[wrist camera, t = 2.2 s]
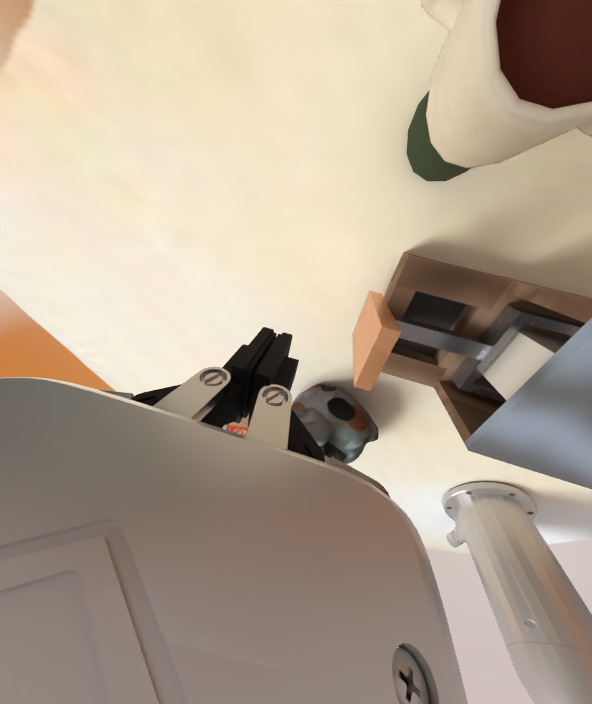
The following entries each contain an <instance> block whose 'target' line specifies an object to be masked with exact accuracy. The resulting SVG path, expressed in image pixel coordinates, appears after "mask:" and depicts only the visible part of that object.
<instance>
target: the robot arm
mask: <svg viewBox="0 0 592 704" xmlns="http://www.w3.org/2000/svg"><path fill="white" fill-rule="evenodd" d="M291 341H292V335H291V334H287V333H282V335H281V334H278V336H277V337H276V333H274V330H273V329H269V328H266V327H263V328H262V330H261V331H260V332H259V333H258V334H257V336H256V337H255V338H254V339H253V340H252V342H251V343H250V344H249V345H242V346H241V347H240V348H239V349H238V351H237V352H236V353H235V354H234V355H233V356H232V357H231V359H230V360H229V361H228V362H227V363H226V364H225V365H224V366H223V368H220V367H209V368H205V369H203V370H201V371H199V372H198V373H197V374H195V375H194V376H193V377H191V378H190V379H189V380H187V381H186V382H185V383H183V384H181V385H177V386H172V387H167V388H163V389H158V390H154V391H149V392H144V393H141V394H138V395H136V396H133V394H132V393H122V392H113V391H103V390H96V389H93V388H90V387H86V386H81V385H78V384H74V383H70V382H65V381H59V380H53V379H45V378H35V377H7V378H0V704H468V703H467V699H466V694H465V690H464V686H463V682H462V678H461V673H460V669H459V665H458V661H457V658H456V654H455V650H454V646H453V643H452V638H451V634H450V630H449V626H448V622H447V618H446V614H445V611H444V607H443V603H442V600H441V597H440V593H439V590H438V586H437V583H436V579H435V576H434V573H433V570H432V567H431V564H430V560H429V558H428V555H427V553H426V549H425V547H424V544H423V542H422V540H421V537H420V535H419V533H418V531H417V529H416V528H415V526H414V524H413V523H412V521H411V520H410V518H409V517H408V516H407V514H406V513H405V512H404V511H403V510H402V509H401V508H400V507H399V506H398V505H397V504H396V503H395V502H394V501H393V500H392V499H391V498H390V496H389V494H388V492H387V491H386V489H385V488H384V487H383V486H382V485H381V484H380V483H378V482H377V481H375V480H373V479H372V478H370V477H368V476H366V475H365V474H363V473H361V472H359V471H357V470H356V469H354V468H352V467H350V466H348V465H347V464H345V463H343V462H341V461H339V460H338V459H336V458H334V457H332V458H331V459H330V458H329V457H327V456H325V455H324V453H323V451H322V449H321V448H320V446H319V445H318V444H317V442H316V441H315V439H314V438H313V437H312V435H311V434H310V433H309V431H308V430H307V428H306V427H305V426H304V424H303V423H302V422H301V420H300V419H299V418H298V416H297V415H296V413H295V412H294V411H293V409H292V408H291V404H292V395H291V393H290V390H291V387H292V384H293V380H294V377H295V374H296V370H297V366H298V362H299V360H296V359H293V358H289V357H288V354H289V350H290V345H291ZM248 414H249V419H248V427H249V428H248V432H247V435H246V436H244V435H241V434H238V433H235V432H231V431H228V430H227V428H228V425H229V424H230V423H233V422H236V423H239V424H240V422H241V420H242V418H247V416H248ZM442 504H443V507H444V510H445V512H446V514H447V515H448V516H449V517H450V518H452V519H453V520H455V522H456V526H455V530H453V531H452V532H450V533H449V534H447V540H448V542H449V543H450V544H451V545H452V546H453V547H458V546H460V545H461V544H463V542H466V543H467V544H468V547H469V550H470V552H471V555H472V557H473V560H474V563H475V565H476V568H477V571H478V573H479V576H480V578H481V581H482V584H483V587H484V589H485V592H486V594H487V597H488V600H489V602H490V605H491V608H492V610H493V613H494V616H495V618H496V621H497V624H498V626H499V629H500V631H501V634H502V637H503V639H504V642H505V645H506V647H507V650H508V652H509V655H510V657H511V660H512V663H513V665H514V667H515V670H516V672H517V674H518V676H519V678H520V680H521V682H522V684H523V686H524V687H525V689H526V691H527V692H528V694H529V696H530V697H531V698H532V700H533V701H534V703H535V704H592V614H591V613H590V611H589V610H588V608H587V606H586V605H585V603H584V602H583V600H582V599H581V597H580V595H579V594H578V592H577V591H576V589H575V588H574V586H573V585H572V583H571V581H570V580H569V578H568V576H567V575H566V573H565V572H564V570H563V569H562V567H561V565H560V564H559V562H558V561H557V559H556V558H555V556H554V554H553V553H552V551H551V550H550V548H549V546H548V545H547V543H546V542H545V540H544V538H543V537H542V535H541V534H540V532H539V531H538V529H537V527H536V526H535V524H534V523H533V521H532V519H533V518H534V517H535V515H536V513H537V507H536V505H535V503H534V502H533V500H532V499H531V498H530V496H529V495H528V494H526V493H525V492H524V491H522V490H520V489H518V488H515V487H513V486H510V485H506V484H501V483H494V482H475V483H469V484H464V485H460V486H457V487H455V488H453V489H451V490H450V491H448V492H447V493H446V494H445V495H444V497H443V500H442ZM397 647H399V648H397Z"/></svg>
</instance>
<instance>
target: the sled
mask: <svg viewBox="0 0 592 704" xmlns="http://www.w3.org/2000/svg"><path fill="white" fill-rule="evenodd" d="M524 324H528V325H531V326H535V327H539V328H543V329H547V330H551V331H555V332H558V333H562V334H566V335H570V336H573V335H574V334H575V333H576V332H577V331H579V330H580V329H581V328H582V327H583V326H584V325H582V324H578V323H574V322H570V321H567V320H563V319H559V318H555V317H551V316H547V315H543V314H539V313H535V312H531V311H527V310H523V309H519V308H516V307H512V306H508V305H506V306H505V308H504V309H503V310H502V312H501V313H500V314H499V315H498V317H497V318H496V319H495V321H494V322H493V323H492V325H491V326H490V327H489V329H488V330H487V331H486V332H485V334H484V335H483V336H482V338H477V337H474V336H470V335H466V334H463V333H459V332H455V331H451V330H448V329H444V328H440V327H437V326H433V325H429V324H425V323H422V322H418V321H414V320H411V319H407V318H403V317H400V316H396V315H392V313H391V311H390V309H389V307H388V305H387V304H386V302H385V300H384V298H383V296H382V294H380V293H376V292H373V291H369V293H368V296H367V299H366V301H365V304H364V306H363V309H362V311H361V314H360V316H359V319H358V322H357V324H356V327H355V329H354V332H353V334H352V335H353V366H354V387H356V388H360V389H363V390H366V391H371V389H372V387H373V385H374V383H375V381H376V379H377V377H378V376H379V374H380V372H381V370H382V368H383V366H384V364H385V362H386V360H387V358H388V357H389V355H390V353H391V351H392V349H393V347H394V345H395V343H396V341H397V339H398V338H402V339H406V340H409V341H413V342H417V343H420V344H424V345H427V346H431V347H435V348H438V349H442V350H445V351H449V352H453V353H456V354H460V355H463V356H467V357H466V359H465V360H464V361H463V363H462V364H461V365H460V366H459V368H458V369H457V370H456V372H455V373H454V374H453V376H452V377H451V379H452V380H453V381H454V383H455V384H456V386H457V387H458V389H460V390H464V391H467V392H471V393H474V394H478V395H481V396H485V397H488V398H491V399H495V400H498V401H502V402H506V401H507V400H506V399H505V398H504V397H503V396H502V395H501V394H500V393H499V392H498V391H497V390H496V389H495V388H494V387H493V385H492V384H491V383H490V382H488V381H485V380H481V379H478V377H479V376H480V375H481V374H482V373H483V372H484V370H485V369H486V368H487V367H488V366H489V364H490V363H491V362H492V361H493V360H494V359H495V357H496V356H497V355H498V354H499V353H500V352H501V350H502V349H503V348H504V347H505V346H506V345H507V343H508V342H509V341H510V340H511V339H512V338H513V336H514V335H515V334H516V333H517V332H518V330H519V329H520V328H521V327H522V326H523V325H524Z"/></svg>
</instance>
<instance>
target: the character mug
mask: <svg viewBox="0 0 592 704" xmlns="http://www.w3.org/2000/svg"><path fill="white" fill-rule="evenodd" d="M421 6H422V8H423V9H424V10H425V12H426V13H427V14H428V15H429V16H430V17H432V18H433V19H434V20H436V21H437V22H438V23H440V24H441V25H442V26H444V27H445V28H446V29H447V30H449V33H448V36H447V38H446V41H445V43H444V45H443V48H442V50H441V53H440V55H439V57H438V60H437V62H436V64H435V67H434V69H433V72H432V78H431V85H430V90H429V92H428V93H427V94H426V95H425V97H424V98H423V99H422V101H421V102H420V103H419V104H418V107H417V109H416V112H415V114H414V117H413V119H412V122H411V124H410V127H409V130H408V142H407V156H408V158H409V161H410V164H411V166H412V169H413V172H415V173H416V174H418V175H419V176H420V177H422V178H423V179H425V180H426V181H447V180H449V179H451V178H453V177H455V176H457V175H460V174H462V173H464V172H466V171H467V170H469V169H470V168H471V167H476V166H482V165H489V164H495V163H500V162H502V161H504V160H507V159H509V158H511V157H513V156H515V155H518V154H520V153H522V152H524V151H526V150H528V149H531V148H533V147H535V146H537V145H539V144H542V143H544V142H546V141H548V140H550V139H553V138H555V137H557V136H559V135H561V134H563V133H566V132H568V131H570V130H572V129H574V128H578V129H579V130H580V131H582V132H583V133H584V134H586V135H589V136H591V137H592V0H421Z"/></svg>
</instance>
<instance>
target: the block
mask: <svg viewBox="0 0 592 704" xmlns="http://www.w3.org/2000/svg"><path fill="white" fill-rule="evenodd" d="M565 343H566V341H562V340H558V339H554V338H550V337H547V336H543V335H539V334H535V333H531V332H527V331H524V330H520V329H519V330H518V332H517V333H516V334H515V335H514V336H513V338H512V339H511V340H510V341H509V342H508V343H507V345H506V346H505V347H504V348H503V349H502V350H501V352H500V353H499V354H498V355H497V356H496V357H495V359H494V360H493V361H492V362H491V363H490V364H489V366H488V367H487V368H486V369H485V370H484V372H483V373H482V375H483V376H484V377H485V378H486V379H487V380H488V381H489V382H490V383H491V384H492V385H493V387H494V388H495V389H496V390H497V391H498V392H499V393H500V394H501V395H502V396H503V397H504V398H505V399H506V400H508V399H509V398H510V397H511V396H512V395H513V394H514V393H515V392H516V391H517V390H518V389H519V388H520V387H521V386H522V385H523V384H524V383H525V382H526V381H527V380H528V379H529V378H530V377H532V376H533V375H534V374H535V373H536V372H537V371H538V370H539V369H540V368H541V367H542V366H543V365H544V364H545V363H546V362H547V361H548V360H549V359H550V358H551V357H552V356H553V355H554V354H555V353H556V352H557V351H558V350H559V349H560V348H561V347H562V346H563V345H564V344H565Z"/></svg>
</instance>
